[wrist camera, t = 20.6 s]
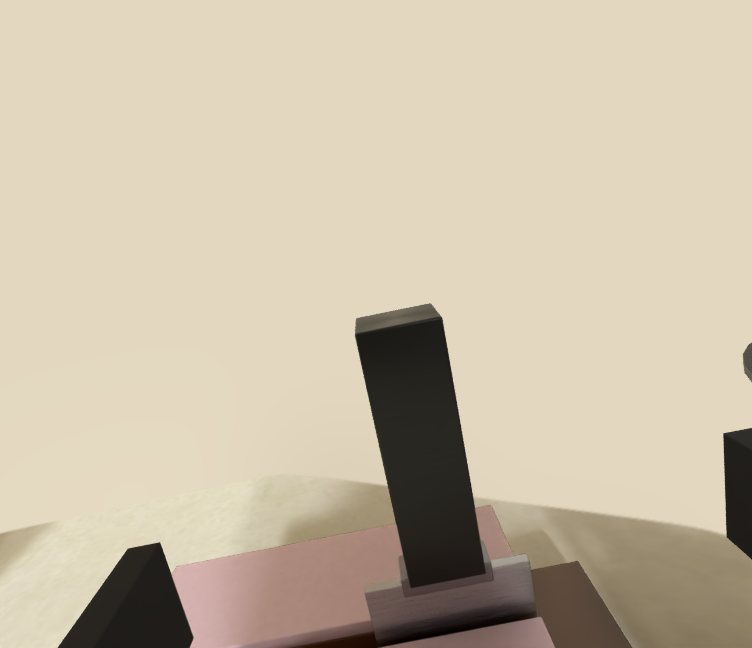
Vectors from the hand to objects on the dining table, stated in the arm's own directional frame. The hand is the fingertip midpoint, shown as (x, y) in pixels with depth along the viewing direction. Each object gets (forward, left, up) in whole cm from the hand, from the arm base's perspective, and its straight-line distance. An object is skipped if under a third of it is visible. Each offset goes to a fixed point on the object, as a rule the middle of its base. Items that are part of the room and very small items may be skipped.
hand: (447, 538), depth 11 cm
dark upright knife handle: (0, -5, -14) cm, 15 cm away
